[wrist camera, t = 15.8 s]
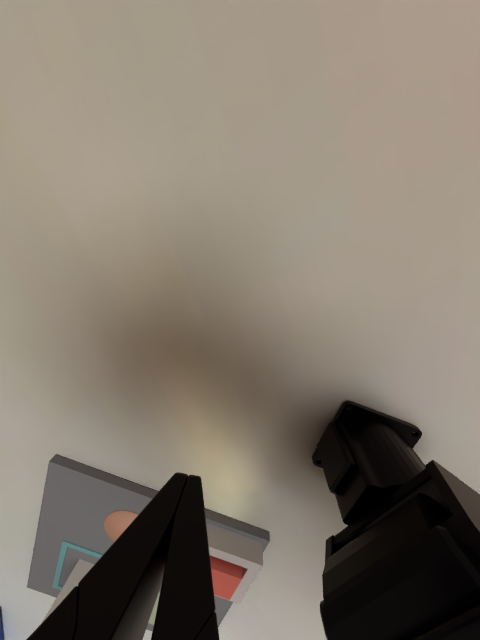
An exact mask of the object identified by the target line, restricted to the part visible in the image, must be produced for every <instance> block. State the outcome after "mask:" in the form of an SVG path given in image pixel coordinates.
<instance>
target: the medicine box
mask: <svg viewBox="0 0 480 640" xmlns="http://www.w3.org/2000/svg"><path fill="white" fill-rule="evenodd" d="M3 639H4V636H3V628H2V621H1V613H0V640H3Z"/></svg>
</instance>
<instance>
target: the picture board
mask: <svg viewBox="0 0 480 640" xmlns="http://www.w3.org/2000/svg"><path fill="white" fill-rule="evenodd" d="M157 493H158V491H155V490H152V489H150V488H147V487H144V486H141V485H139V484H136V483H133V482H130V481H128V480H125V479H122V478H119V477H117V476H114V475H111V474H108V473H106V472H103V471H100V470H97V469H95V468H92V467H89V466H86V465H84V464H81V463H78V462H75V461H73V460H70V459H67V458H64V457H62V456H59V455H55V456H54V457H53V458H52V459H51V460H50V461H49V465H48V471H47V477H46V482H45V488H44V494H43V499H42V505H41V511H40V516H39V522H38V528H37V533H36V539H35V545H34V550H33V556H32V562H31V567H30V573H29V579H28V584H27V587H28V588H31V589H33V590H36V591H39V592H42V593H45V594H48V595H51V596H53V597H56V598H57V596H58V595H59V593H60V591H61V590H62V588H63V586H64V584H65V583H66V581H67V579H68V578H69V576H70V574H71V572H72V571H73V569H74V567H75V566H76V564H77V562H78V561H79V559H81V560H84V561H86V562H89V563H92V564H95V563H96V562H97V561H98V560H99V559H100V558H101V557H102V555H103V554H104V553H105V552H106V551H107V550H108V549H109V548H110V546H111V545H112V544H113V543H114V542H115V541H116V540H117V538H118V537H119V536H120V535H121V534H122V533H123V532H124V531H125V529H126V528H127V527H128V526H129V525H130V524H131V523H132V521H133V520H134V519H135V518H136V517H137V516H138V515H139V514H140V512H141V511H142V510H143V509H144V508H145V507H146V506H147V504H148V503H149V502H150V501H151V500H152V499H153V498H154V497H155V495H156V494H157ZM204 509H205V508H204ZM205 518H206V527H207V536H208V545H209V554H210V555H211V556H214V557H216V558H219V559H222V560H225V561H228V562H230V563H233V564H236V565H239V566H241V567H243V570H242V580H241V582H240V583H239V585H238V587H237V589H236V590H235V592H234V594H233V595H232V597H231V599H230V600H227V599H225V598H222V597H219V596H216V595H214V599H215V608H216V610H215V613H216V615H217V624H218V627H219V625H220V623H221V622H222V620H223V618H224V617H225V615H226V613H227V612H228V610H229V608H230V607H231V605H232V603H233V602H234V603H237V604H240V602H241V601H242V599H243V597H244V596H245V594H246V592H247V591H248V589H249V588H250V586H251V584H252V583H253V581H254V579H255V578H256V576H257V574H258V573H259V571H260V570H261V568H262V566H263V551H264V550H265V548H266V546H267V545H268V543H269V541H270V538H269V532H268V531H265V530H262V529H260V528H257V527H254V526H251V525H249V524H246V523H243V522H240V521H238V520H235V519H232V518H229V517H227V516H224V515H221V514H218V513H216V512H213V511H210V510H207V509H205ZM160 590H161V587H160ZM160 590H159V593H158V596H157V599H156V602H155V605H154V607H153V610H152V613H151V616H150V619H149V622H148V625H147V628H146V629H147V630H150V631H153V627H154V622H155V617H156V612H157V606H158V601H159V596H160Z"/></svg>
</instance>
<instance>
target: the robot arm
mask: <svg viewBox="0 0 480 640" xmlns="http://www.w3.org/2000/svg"><path fill="white" fill-rule="evenodd" d="M348 407H352V408H351V409H349V410H348V409H347V408H348ZM413 432H415V433H413ZM412 433H413V434H412ZM421 436H422V432H421V431H420V429H419V428H418V427H416V426H414V425H412V424H409V423H406V422H404V421H401V420H398V419H396V418H393V417H390V416H388V415H385V414H383V413H380V412H377V411H375V410H372V409H369V408H367V407H364V406H361V405H359V404H356V403H354V402H350V401H347V402H345V403H343V405H342V406H341V408H340V410H339V411H338V413H337V415H336V417H335V418H334V420H333V422H331V423H330V424H329V426H328V427H327V429H326V431H325V432H324V434H323V436H322V438H321V439H320V441H319V443H318V444H317V449H316V451H315V452H314V454H313V456H312V460H313V464H314V465H316V466H318V467H321V468H323V469H324V473H325V477H326V480H327V484H328V487H329V490H330V492H331V493H334V494H335V496H336V499H337V503H338V506H339V509H340V513H341V516H342V519H343V522H344V523H345V524H347V525H349V526H347V527H346V528H345V529H343V530H342V531H341V532H339V533H338V534H337V535H335V536H333V535H332V536H331V537H329V538H328V539H327V540H326V553H325V567H324V571H323V575H322V576H323V598H324V600H323V601H321V603H320V613H321V618H322V622H323V627H324V631H325V635H326V638H327V640H480V494H478V493H477V492H476V491H474V490H473V489H472V488H470V487H469V486H468V485H466V484H465V483H464V482H462V481H461V480H460V479H458V478H457V477H456V476H454V475H453V474H452V473H450V472H449V471H448V470H446V469H445V468H443V467H442V466H441V465H439V464H438V463H437V462H435V461H434V460H432V461H431V462H429V463H428V464H427V465H424V464H423V462H422V461H421V460H420V458H419V457H418V456H417V454H416V453H415V452H414V450H413V449H412V448H413V447H414V446H415V444H416V443H417V442H418V440H419V439H420V438H421ZM317 459H320V460H317ZM160 587H161V590H160ZM159 590H160V596H159V601H158V606H157V612H156V617H155V622H154V627H153V633H152V638H151V640H219V633H218V624H217V615H216V613H215V610H216V608H215V599H214V590H213V581H212V572H211V563H210V554H209V545H208V536H207V527H206V518H205V509H204V500H203V491H202V482H201V477H200V476H195V475H189V476H188V475H187V474H184V473H175V474H174V475H173V476H172V477H171V478H170V480H169V481H168V482H167V483H166V484H165V485H164V486H163V488H162V489H161V490H160V491H159V492H158V493H157V494H156V495H155V497H154V498H153V499H152V500H151V501H150V502H149V503H148V504H147V506H146V507H145V508H144V509H143V510H142V511H141V512H140V514H139V515H138V516H137V517H136V518H135V519H134V520H133V521H132V523H131V524H130V525H129V526H128V527H127V528H126V529H125V531H124V532H123V533H122V534H121V535H120V536H119V537H118V538H117V540H116V541H115V542H114V543H113V544H112V545H111V546H110V548H109V549H108V550H107V551H106V552H105V553H104V554H103V555H102V557H101V558H100V559H99V560H98V561H97V562H96V563H95V565H94V566H93V567H92V568H91V569H90V570H89V571H88V572H87V574H86V575H85V576H84V577H83V578H82V579H81V580H80V582H79V583H78V586H75V587H74V588H73V589H72V590H71V592H70V593H69V594H68V595H67V596H66V597H65V598H64V600H63V601H62V602H61V603H60V604H59V605H58V606H57V607H56V608H55V609H54V611H53V612H52V613H51V614H50V615H49V616H48V617H47V618H46V619H45V620H44V621H43V623H42V624H41V625H40V626H39V627H38V628H37V629H36V630H35V631H34V632H33V633H32V634H31V635H30V636H29V637H28V638H27V639H26V640H142V639H143V636H144V633H145V630H146V628H147V625H148V622H149V619H150V616H151V613H152V610H153V607H154V605H155V602H156V599H157V596H158V593H159Z"/></svg>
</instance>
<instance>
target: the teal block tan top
mask: <svg viewBox="0 0 480 640" xmlns="http://www.w3.org/2000/svg"><path fill="white" fill-rule="evenodd" d="M94 565H95V564H92V563H89V562H86V561H84V560H81V559H79V561H78V562H77V564H76V566H75V567H74V569H73V571H72V572H71V574H70V576H69V578H68V579H67V581H66V583H65V584H64V586H63V588H62V590H61V591H60V593H59V595H58V596H57V598H56V600H55V601H54V603H53V605H52V607H51V608H50V610H49V612H48V613H47V615H46V617H45V618H44V620H45V619H46V618H47V617H48V616H49V615H50V614H51V613H52V612H53V611H54V609H55V608H56V607H57V606H58V605H59V604H60V603H61V602H62V601H63V600H64V598H65V597H66V596H67V595H68V594H69V593H70V592H71V590H72V589H73V588H74V587H75V586H78V583H79V582H80V580H81V579H82V578H83V577H84V576H85V575H86V574H87V572H88V571H89V570H90V569H91V568H92V567H93V566H94ZM44 620H43V621H44ZM42 623H43V622H42Z"/></svg>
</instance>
